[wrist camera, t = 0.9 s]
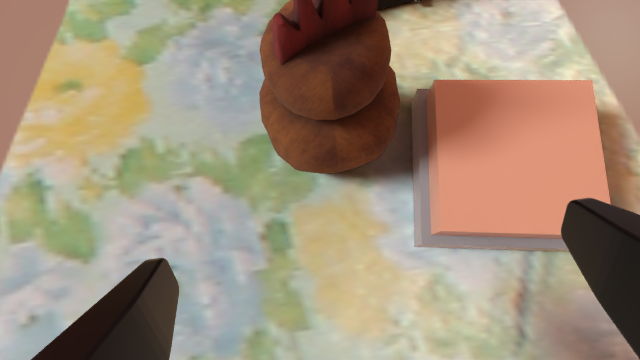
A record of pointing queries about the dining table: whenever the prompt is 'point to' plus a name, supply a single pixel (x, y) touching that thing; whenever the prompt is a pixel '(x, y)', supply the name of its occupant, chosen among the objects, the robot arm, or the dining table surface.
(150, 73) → the dining table surface
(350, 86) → the wooden figurine
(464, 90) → the brick plinth
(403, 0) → the black toy car
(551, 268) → the dining table surface
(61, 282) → the dining table surface
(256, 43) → the dining table surface
